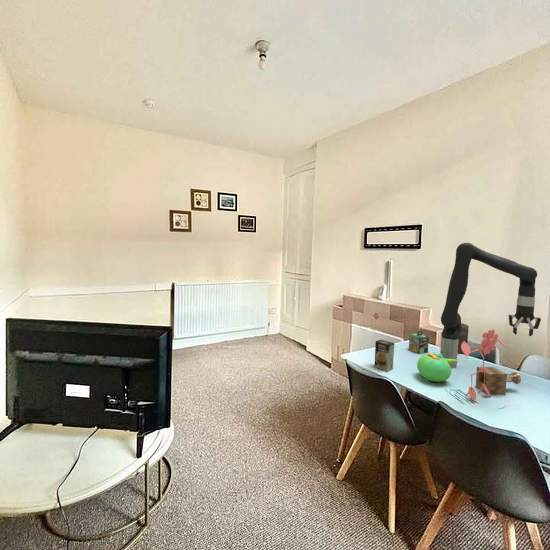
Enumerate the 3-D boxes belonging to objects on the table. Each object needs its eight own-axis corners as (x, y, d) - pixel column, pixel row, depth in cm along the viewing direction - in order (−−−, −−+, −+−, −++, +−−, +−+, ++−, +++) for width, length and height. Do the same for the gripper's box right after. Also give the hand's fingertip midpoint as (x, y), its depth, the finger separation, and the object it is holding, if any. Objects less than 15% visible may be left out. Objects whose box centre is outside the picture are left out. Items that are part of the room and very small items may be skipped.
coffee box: (373, 367, 190) (374, 341, 188) (379, 364, 194) (380, 339, 192) (387, 372, 183) (389, 344, 181) (393, 369, 187) (394, 342, 185)
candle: (456, 349, 222) (458, 322, 220) (468, 352, 217) (470, 324, 215) (453, 352, 217) (455, 323, 215) (465, 355, 212) (467, 326, 210)
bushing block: (487, 394, 156) (489, 374, 155) (475, 386, 165) (476, 366, 164) (505, 394, 156) (507, 374, 155) (492, 386, 165) (493, 366, 164)
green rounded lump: (410, 373, 181) (412, 348, 180) (438, 372, 183) (440, 347, 181) (428, 387, 163) (430, 360, 162) (459, 386, 165) (461, 359, 163)
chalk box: (417, 348, 225) (418, 328, 223) (428, 352, 216) (429, 331, 215) (407, 350, 221) (409, 329, 219) (418, 354, 213) (419, 332, 211)
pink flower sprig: (451, 398, 152) (457, 327, 147) (486, 389, 162) (494, 323, 157) (482, 415, 138) (491, 337, 133) (519, 404, 147) (528, 332, 143)
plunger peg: (497, 385, 158) (498, 375, 157) (489, 381, 163) (490, 370, 163) (520, 385, 158) (521, 375, 157) (511, 380, 164) (512, 370, 163)
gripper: (510, 304, 169) (507, 334, 171) (544, 307, 162) (541, 338, 164) (507, 302, 176) (505, 331, 177) (540, 304, 169) (537, 335, 171)
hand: (522, 334), depth 171 cm, fingers open, 5 cm apart
